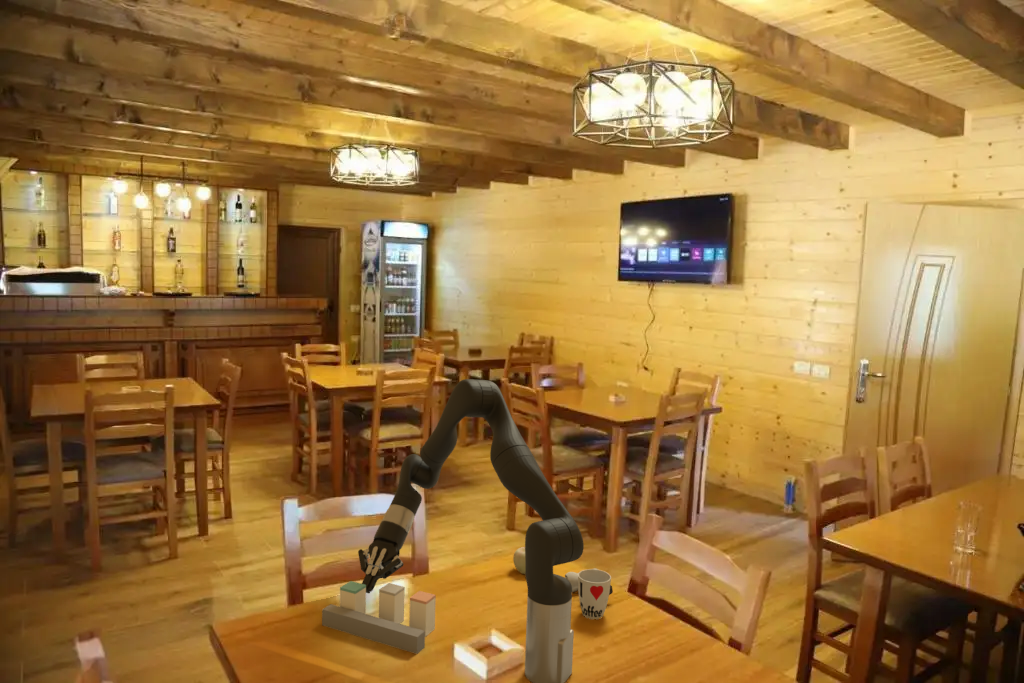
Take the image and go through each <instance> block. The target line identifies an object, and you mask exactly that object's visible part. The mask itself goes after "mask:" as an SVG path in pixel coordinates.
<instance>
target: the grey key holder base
mask: <svg viewBox="0 0 1024 683" xmlns="http://www.w3.org/2000/svg"><path fill="white" fill-rule="evenodd" d="M321 623H322V624H321V626H323V627H327V628H329V629H333V630H337V631H340V632H344V633H346V634H349V635H353V636H357V637H360V638H363V639H366V640H370V641H371V642H375V643H379V644H381V645H382V644H383V645H385V646H389V647H392V648H396V649H399V650H402V651H406V652H410V653H413V654H416V655H418V654H420V652H422V651H423V650H424V649H425V647H426V643H425V642H426V641H425V640H426V637H425V631H423V630H420V629H416V628H413V627H409V625H405V624H402V623H400V624H399V623H395V622H392V621H388V620H385V619H381V618H379V616H375V615H374V616H373V615H371V614H368V613H366V614H364V613H360V612H357V611H353V610H350V609H346V608H343V607H340V605H335V604H333V603H331V604H329V605H326V607H324V608H322V609H321Z"/></svg>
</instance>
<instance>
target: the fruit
mask: <svg viewBox="0 0 1024 683" xmlns="http://www.w3.org/2000/svg"><path fill="white" fill-rule="evenodd" d="M512 561H513V565H514V568H515V569H516V570H517V571H518V572H519V573H521V574H523V575H526V574H525V546H522V547H518V548H517V549H516V550H515V551H514V553H513V559H512Z"/></svg>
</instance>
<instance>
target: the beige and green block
mask: <svg viewBox="0 0 1024 683" xmlns="http://www.w3.org/2000/svg"><path fill="white" fill-rule="evenodd" d="M366 596H367V593H366V585H364V584H362V582H361V583H360V582H356V581H352V580H350V581H348V582H347V583H345V584H344V585H342V586H340V587H339V607H343V608H346V609H350V610H353V611H357V612H360V613H364V614H367V613H366V610H367V608H366V605H367V603H366V602H367V599H366V598H367V597H366Z"/></svg>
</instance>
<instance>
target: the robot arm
mask: <svg viewBox="0 0 1024 683" xmlns="http://www.w3.org/2000/svg"><path fill="white" fill-rule="evenodd" d="M466 417H467V418H483V419H484V420H486V422H487V424H488V425H489V428H490V429H491V431H492V440H491V441H492V442H491V446H490V452H489V455H490V456H489V457H490V463H491V466H492V467H493V470H494V471H495V474H496V475H497V478H498V479H499V481H500V482H501V483H500V484H502V485H503V487H504V488H505V489H506V491H508V492H509V493H511V494H512V495H513V496H515V497H516V498H517V499H520V501H523V503H525V504H526V505H528V506H529V507H530V508H532V509H533V510H534V511H535V512H536V513H537V515H539V517H540V518H541V520H539V521H534V522H532V523H530V525H529V526H528V528H527V530H526V532H525V538H524V539H525V540H524V547H525V574H524V575H525V580H526V585H527V597H526V598H527V602H526V604H527V605H526V632H525V651H524V652H525V653H524V654H525V655H524V656H525V657H524V676H525V678H526V679H527V680H528V681H530V682H531V683H566V682H567V680H568V679H569V677H570V676H571V674H572V673H573V657H574V655H573V654H574V653H573V652H574V636H575V635H574V633H575V632H574V629H572V628H571V626H572V625H571V624H572V606H573V605H572V600H573V595H572V594H573V592H572V585H571V583H570V581H569V580H567V579H566V578H565V576H562V575H559V574H555V573H554V567H556V566H560V565H563V564H567V563H572V562H574V561H576V560H579V559H580V558H581V557H582V555H583V554H584V549H585V548H584V547H585V546H584V545H585V544H584V538H583V536H582V532H581V530H580V528H579V526H578V524H577V522H576V521H575V519H574V518H573V516H572V515H571V513H570V512H569V511H568V509H567V508H566V506H565V505H564V504H563V502H562V501H561V499H560V498H559V497H558V495H557V494H556V493H555V491H554V490H553V488H552V486H551V484H550V483H549V482H548V480H547V478H546V477H545V474H544V473H543V471H542V470H541V468H540V466H539V464H538V462H537V460H536V458H535V456H534V455H533V453H532V451H531V449H530V448H529V446H528V444H527V443H526V441H525V439H524V437H523V436H522V434H521V433H520V430H519V429H518V426H517V425H516V423H515V421H514V418H513V417H512V415H511V412H510V410H509V407H508V404H507V403H506V400H505V397H504V396H503V393H502V391H501V389H500V387H499V386H498V385H497V384H496V383H495V382H493V381H491V380H485V379H473V378H466V379H461V380H459V382H458V383H456V385H455V386H454V388H453V390H452V391H451V393H450V396H449V398H448V400H447V403H446V404H445V407H444V408H443V411H442V414H441V416H440V418H439V420H438V422H437V424H436V426H435V428H434V430H433V432H432V433H431V434H430V436H429V437H428V439H427V440H426V441H425V442H424V444H423V445H422V447H421V449H420V452H419V454H415V453H412V454H408V455H407V456H406V457H405V458H404V460H403V461H402V463H401V468H400V474H399V480H398V485H397V489H396V491H395V493H394V496H393V499H392V500H391V503H390V505H389V507H388V509H386V511H385V513H384V515H383V517H382V518H381V521H380V523H379V526H378V528H377V530H376V532H375V534H374V537H373V541H372V542H371V543H370V544H369V546H368V547H367V548H366V549H364V550H363V549H359V550H358V552H357V554H358V558H359V566H360V569H361V571H362V572H363V573H364V574H365V575H364V578H363V580H362V582H361V584H364V585H366V594H370V593H372V592H373V591H374V588H375V586H376V584H377V582H378V581H379V580H380V579H384V580H386V579H387V578H389V577H390V576H391V575H392V574H394V573H395V572H397V571H398V570H400V569H401V568H402V567H404V562H403V560H401V558H400V555H401V554H400V551H401V549H402V548H403V546H404V544H405V541H406V539H407V537H408V535H409V532H410V531H411V528H412V526H413V523H414V520H415V516H416V514H417V512H418V510H419V508H420V505H421V503H422V499H423V498H422V495H421V493H420V492H418V490H417V489H415V488H414V486H412V485H413V484H414V485H416V486H418V487H421V488H422V489H425V490H430V489H432V488H433V487H434V488H435V486H436V485H437V484H438V482H439V479H440V474H441V470H442V467H443V465H444V463H445V462H446V460H447V459H448V458H449V456H450V455H452V452H453V451H454V450H455V448H456V446H457V441H458V431H457V430H458V429H457V426H458V424H459V423H460V422H461V421H462V420H463V419H465V418H466ZM412 483H413V484H412ZM368 559H369V560H368Z"/></svg>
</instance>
